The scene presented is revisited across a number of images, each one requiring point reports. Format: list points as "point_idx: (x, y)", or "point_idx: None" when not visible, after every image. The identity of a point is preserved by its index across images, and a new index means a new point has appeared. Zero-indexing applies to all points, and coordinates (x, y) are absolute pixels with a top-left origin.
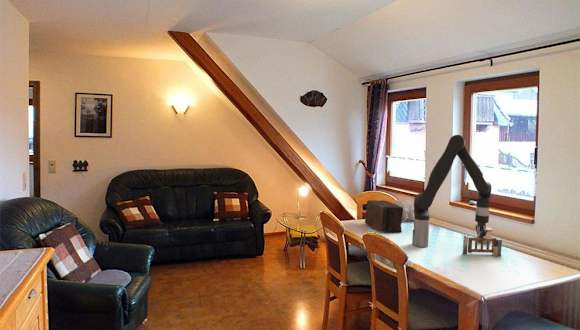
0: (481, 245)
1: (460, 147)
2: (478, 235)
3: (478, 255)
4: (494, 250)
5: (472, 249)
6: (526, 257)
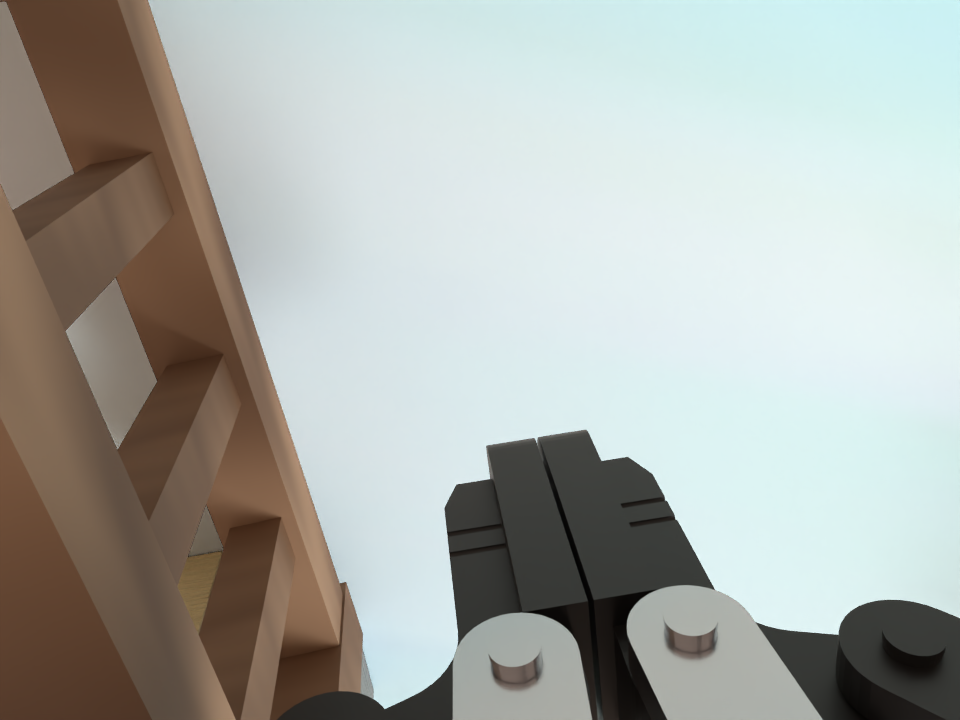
0: (131, 439)
1: None
2: (643, 602)
3: None
4: None
5: (43, 43)
6: None
